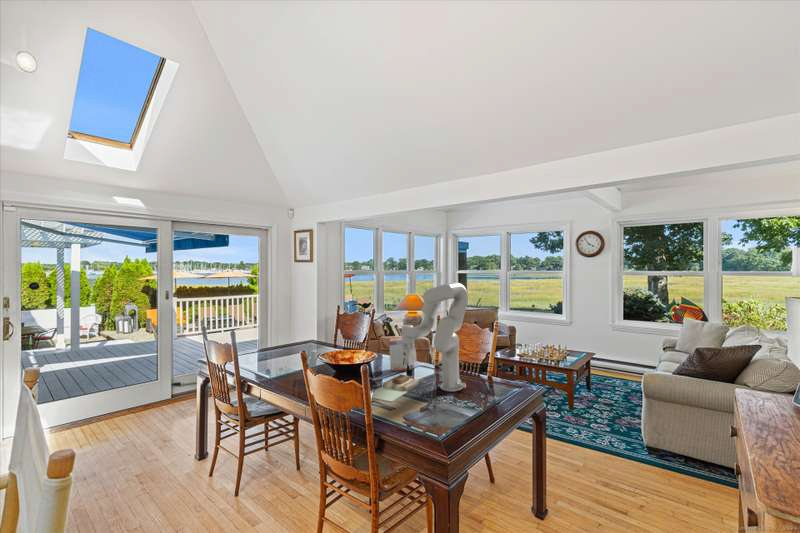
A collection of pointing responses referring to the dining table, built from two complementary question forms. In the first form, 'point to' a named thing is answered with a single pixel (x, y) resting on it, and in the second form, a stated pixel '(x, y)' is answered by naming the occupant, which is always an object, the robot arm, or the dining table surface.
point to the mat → (387, 394)
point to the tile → (400, 379)
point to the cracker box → (396, 355)
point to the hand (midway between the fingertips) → (409, 375)
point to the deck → (402, 387)
